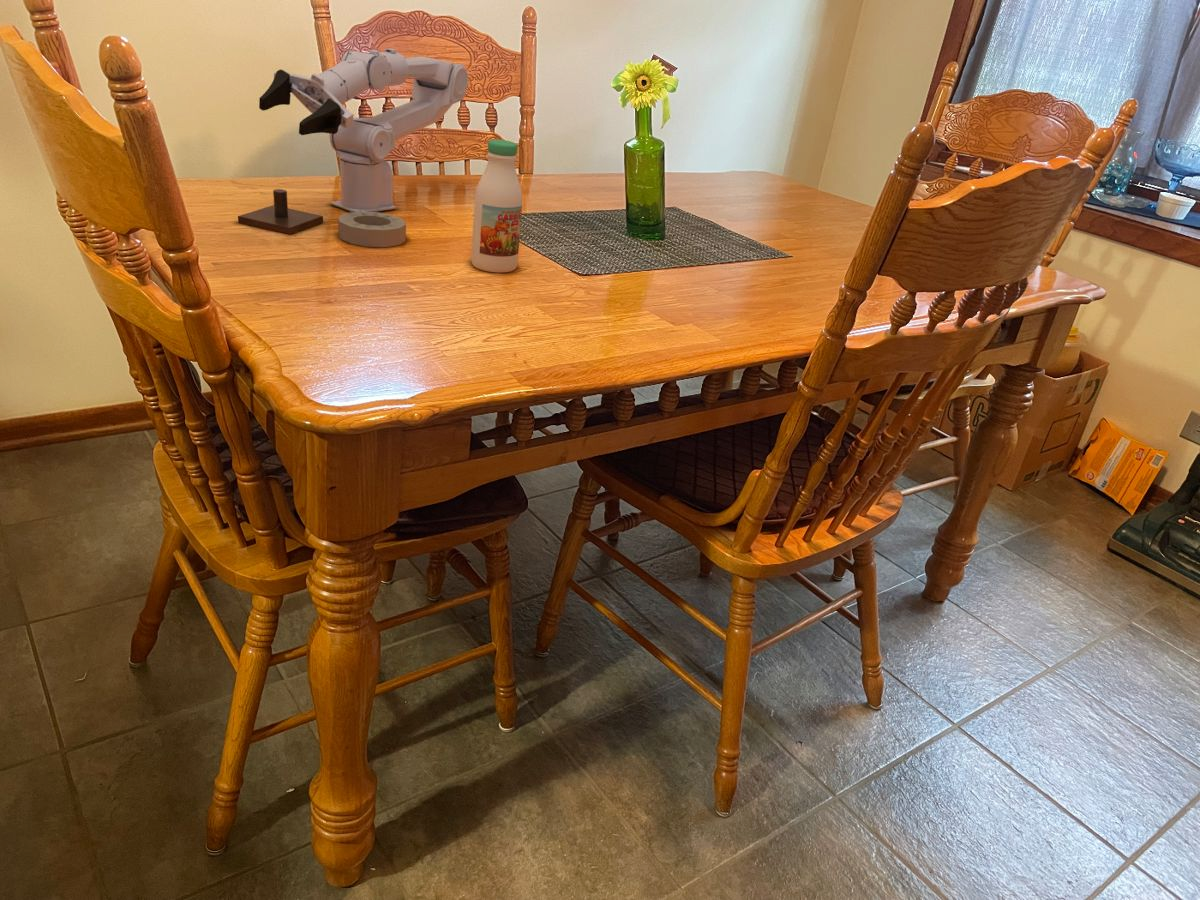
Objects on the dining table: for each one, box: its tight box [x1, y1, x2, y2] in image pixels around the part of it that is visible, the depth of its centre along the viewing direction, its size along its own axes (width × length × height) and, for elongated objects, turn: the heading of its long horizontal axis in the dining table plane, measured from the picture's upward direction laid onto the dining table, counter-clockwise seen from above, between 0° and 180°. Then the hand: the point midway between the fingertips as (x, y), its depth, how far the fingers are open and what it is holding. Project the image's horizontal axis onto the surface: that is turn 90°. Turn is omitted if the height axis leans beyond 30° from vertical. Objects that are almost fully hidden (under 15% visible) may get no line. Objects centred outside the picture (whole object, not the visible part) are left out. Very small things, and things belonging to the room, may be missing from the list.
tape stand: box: [237, 188, 324, 235], centre depth 142 cm, size 10×10×6 cm
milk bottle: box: [470, 139, 523, 273], centre depth 133 cm, size 8×8×20 cm
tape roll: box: [337, 211, 407, 248], centre depth 142 cm, size 11×11×3 cm
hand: (280, 116), depth 133 cm, fingers open, 7 cm apart
